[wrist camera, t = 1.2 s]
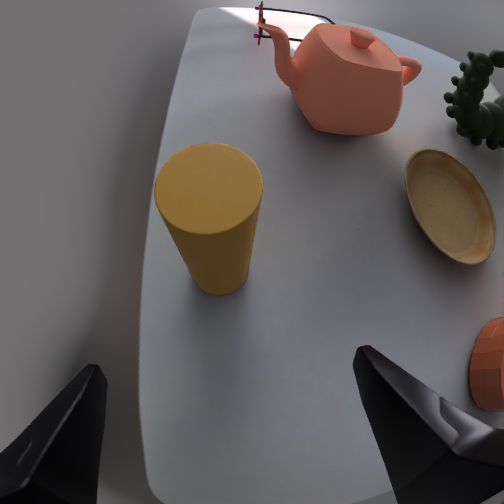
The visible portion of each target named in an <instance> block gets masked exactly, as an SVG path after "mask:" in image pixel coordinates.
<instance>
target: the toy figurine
mask: <svg viewBox="0 0 504 504" xmlns="http://www.w3.org/2000/svg"><path fill="white" fill-rule="evenodd" d="M467 55H468V58H469V59H470V64H468V65H467V64H466V63H464V62H462V63H460V66H459V67H460V70H461V71H463V72H464V73H463V77H461V78H460V79H459V78H458V77H457V76H453V77H452V78H451V81H452V83H453V85H455V86H457V90H455V91H454V93H453V95H452V93H450V92H447V93H445V94H444V99H445V101H446V102H447V103H449V104H451V103H452V104H453V106H451V105H450V106H448V107H447V108H446V113H447V115H448V116H449V117H451V118H455V119H456V121H457V123H458V125H457V132H458V134H459V135H461V136H466V135H467V134H469V135H470V136H471V138H470V139H471V142H472V144H473V145H475V146H478V145H481V143H482V139H485V138H486V145H487V147H488V148H490V149H492V150H494V149H496V148H498V145H500V146H501V147H502V148H504V95H503V96H500V97H498V98H497V99H495V100H494V102H484V103H482V104H481V103H480V102H481V100H482V99H483V96H484V92H483V90H484V89H485V88H486V87H487V86H488V84H489V76H490V75H491V74H492V73H493V70H494V67H493V66H495V67H498V68H503V67H504V51H502V50H493V51H492V52H491V53H490V54H489V57H488V56H487V55H486V54H484V53H480V52H478V53H474V52H471V51H470V52H468V54H467Z"/></svg>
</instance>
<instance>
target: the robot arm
mask: <svg viewBox="0 0 504 504" xmlns="http://www.w3.org/2000/svg"><path fill="white" fill-rule="evenodd" d="M353 370H354V373H355V377H356V381H357V385H358V389H359V393H360V397H361V400H362V404H363V406H364V409H365V412H366V414H367V417H368V420H369V422H370V425H371V428H372V430H373V433H374V436H375V439H376V441H377V444H378V447H379V450H380V452H381V455H382V458H383V461H384V464H385V467H386V470H387V472H388V475H389V478H390V481H391V484H392V487H393V490H394V492H395V493H394V494H395V497H396V500H397V503H398V504H504V429H497V428H494V427H491V426H489V425H487V424H485V423H483V422H482V421H480V420H478V419H476V418H474V417H472V416H471V415H469V414H467V413H465V412H464V411H462V410H460V409H459V408H457V407H456V406H454V405H453V404H451V403H450V402H448V401H447V400H445V399H444V398H442V397H440V396H439V395H438V394H437V393H435V392H434V391H433V390H431V389H430V388H428V387H427V386H426V385H424V384H423V383H421V382H420V381H419V380H417V379H416V378H414V377H413V376H412V375H410V374H409V373H407V372H406V371H405V370H403V369H402V368H400V367H399V366H398V365H396V364H395V363H394V362H392V361H391V360H389V359H388V358H387V357H385V356H384V355H382V354H381V353H380V352H378V351H377V350H376V349H374V348H373V347H371V346H370V345H365V346H360V347H358V348H357V351H356V354H355V357H354V360H353ZM107 385H108V384H107V379H106V377H105V375H104V374H103V372H102V370H101V368H100V366H98V365H94V364H88V365H87V366H85V368H84V369H82V370H81V372H79V373H78V375H77V376H76V377H75V378H74V379H73V380H72V381H71V382H70V383H69V384H68V385H67V386H66V387H65V388H64V389H63V390H62V391H61V392H60V393H59V394H58V395H57V396H56V397H55V398H54V399H53V400H52V401H51V402H50V403H49V404H48V405H47V407H46V408H45V409H44V410H43V411H42V412H41V413H40V414H39V415H38V416H37V417H36V418H35V419H34V420H33V421H32V422H31V424H30V425H29V426H28V427H27V428H26V429H25V430H24V431H23V432H22V433H21V434H20V435H19V436H18V437H17V438H16V439H15V440H14V441H13V442H12V443H11V444H10V445H9V446H8V447H6V449H4V450H3V451H2V452H1V453H0V504H97V488H98V475H99V465H100V456H101V447H102V440H103V433H104V426H105V417H106V399H107Z"/></svg>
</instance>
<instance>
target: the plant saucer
mask: <svg viewBox="0 0 504 504" xmlns="http://www.w3.org/2000/svg"><path fill="white" fill-rule="evenodd" d="M405 187H406V194H407V198H408V202H409V205H410V208H411V211H412V213H413V215H414V218H415V220H416V222H417V223H418V225H419V227H420V228H421V230H422V231H423V233H424V234H425V235H426V237H427V238H428V239H429V240H430V241H431V243H432V244H433V245H434V246H435V247H436V248H438V249H439V250H440V251H441V252H443V253H444V254H445V255H447V256H448V257H450V258H452V259H454V260H456V261H458V262H460V263H463V264H468V265H475V264H479V263H481V262H483V261H485V260H486V259H487V258H488V257H489V256H490V254H491V252H492V251H493V248H494V245H495V241H496V222H495V216H494V212H493V208H492V205H491V203H490V200H489V198H488V196H487V194H486V192H485V190H484V188H483V187H482V185H481V183H480V182H479V180H478V179H477V178H476V176H475V175H474V174H473V173H472V172H471V171H470V169H469V168H468V167H467V166H466V165H464V164H463V163H462V162H461V161H459V160H458V159H457V158H455V157H454V156H452V155H450V154H448V153H446V152H444V151H441V150H437V149H432V148H426V149H421V150H418V151H417V152H415V153H414V154H412V156H411V157H410V158H409V160H408V162H407V164H406V169H405Z"/></svg>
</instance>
